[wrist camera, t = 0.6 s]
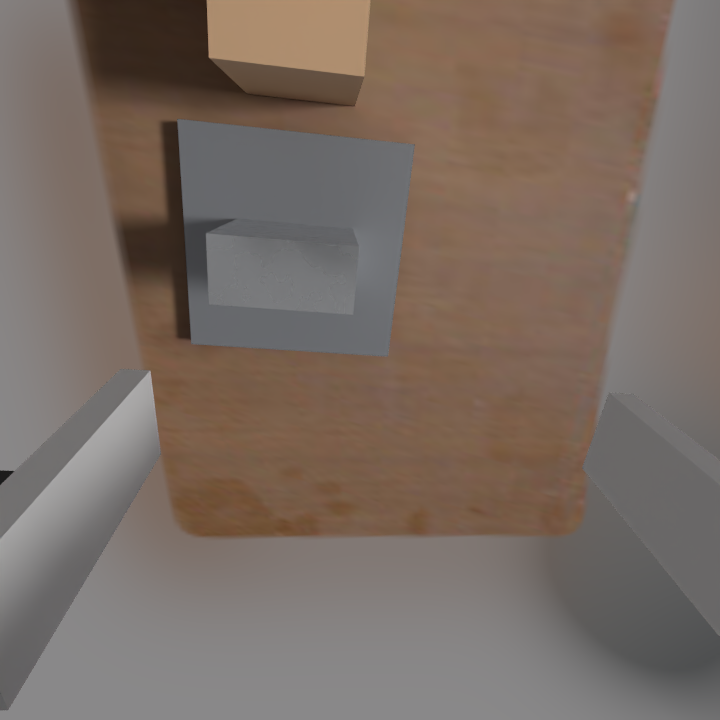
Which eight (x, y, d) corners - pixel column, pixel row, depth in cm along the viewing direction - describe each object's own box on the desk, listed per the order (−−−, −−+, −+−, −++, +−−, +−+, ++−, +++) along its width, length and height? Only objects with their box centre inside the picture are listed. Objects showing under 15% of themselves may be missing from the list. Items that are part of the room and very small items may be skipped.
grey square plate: (184, 121, 30) (119, 98, 21) (411, 145, 32) (443, 134, 22) (196, 337, 36) (150, 392, 27) (385, 349, 38) (402, 406, 29)
